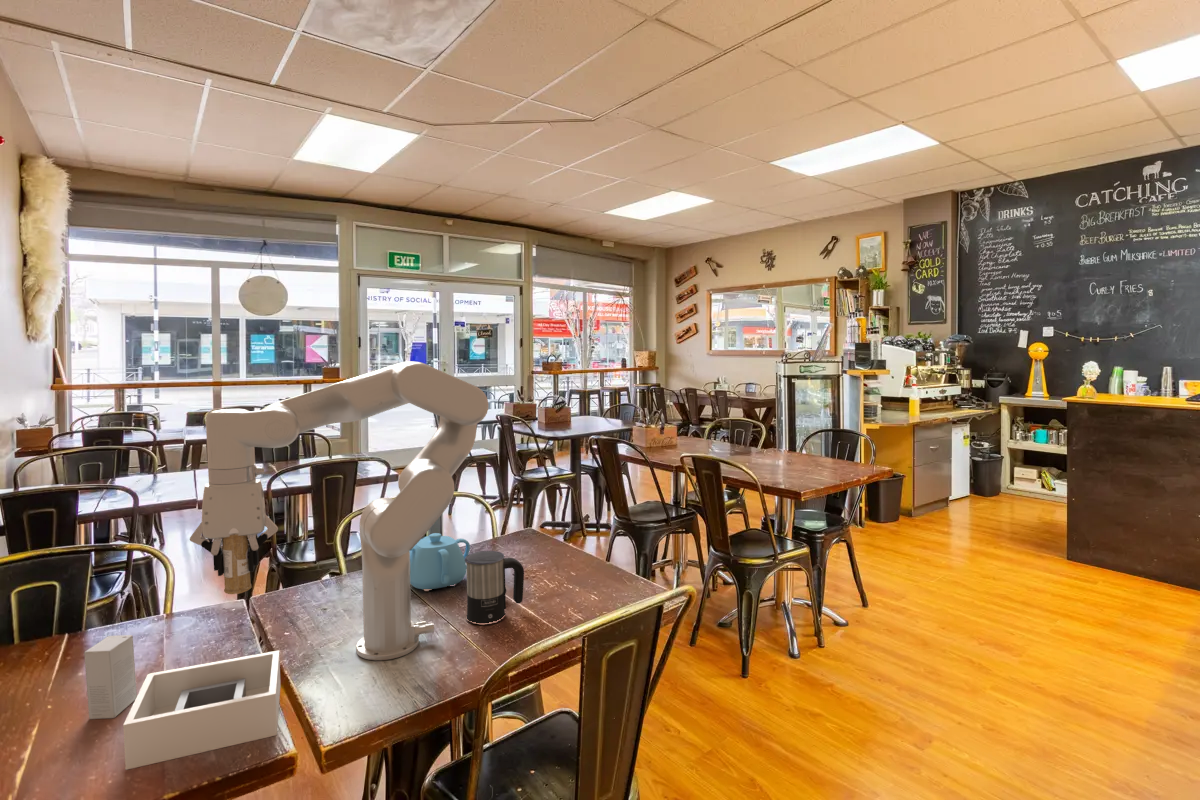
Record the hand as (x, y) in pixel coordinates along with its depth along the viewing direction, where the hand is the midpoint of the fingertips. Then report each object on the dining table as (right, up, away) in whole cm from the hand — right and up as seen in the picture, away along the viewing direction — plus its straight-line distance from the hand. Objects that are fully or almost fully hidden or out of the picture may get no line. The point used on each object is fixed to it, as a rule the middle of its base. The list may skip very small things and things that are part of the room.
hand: (236, 570), depth 116 cm
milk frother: (+41, -19, +33) cm, 56 cm away
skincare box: (-16, -22, -9) cm, 29 cm away
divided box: (+3, -22, -13) cm, 26 cm away
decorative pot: (+24, -18, +50) cm, 59 cm away
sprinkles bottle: (0, -4, 0) cm, 4 cm away
